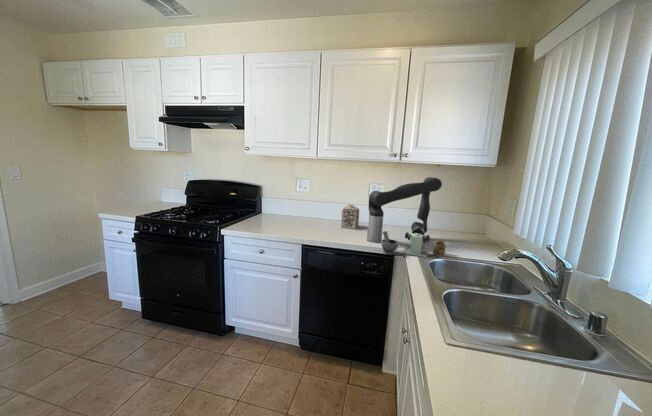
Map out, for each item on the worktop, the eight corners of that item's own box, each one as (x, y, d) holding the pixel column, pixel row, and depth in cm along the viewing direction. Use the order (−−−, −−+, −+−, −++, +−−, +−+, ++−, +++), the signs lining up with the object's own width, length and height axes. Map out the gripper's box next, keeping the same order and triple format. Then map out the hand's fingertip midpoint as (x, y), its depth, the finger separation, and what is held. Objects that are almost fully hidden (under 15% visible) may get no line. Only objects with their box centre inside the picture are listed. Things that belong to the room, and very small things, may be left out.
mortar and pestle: (400, 254, 157) (402, 234, 155) (387, 256, 153) (389, 236, 151) (388, 248, 167) (389, 229, 165) (375, 250, 163) (377, 230, 161)
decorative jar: (340, 227, 213) (341, 205, 209) (344, 224, 224) (345, 203, 220) (355, 229, 209) (357, 206, 206) (358, 226, 220) (360, 204, 217)
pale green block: (409, 252, 160) (411, 234, 158) (410, 249, 165) (412, 231, 163) (420, 254, 158) (422, 235, 156) (420, 250, 163) (422, 233, 161)
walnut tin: (433, 254, 159) (434, 241, 157) (433, 251, 164) (434, 238, 163) (444, 256, 157) (446, 243, 155) (444, 253, 162) (445, 240, 161)
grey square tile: (403, 254, 158) (403, 253, 158) (405, 247, 170) (405, 246, 169) (426, 258, 153) (426, 257, 153) (427, 251, 165) (427, 250, 165)
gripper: (407, 226, 178) (404, 232, 163) (430, 229, 173) (430, 235, 158) (406, 237, 179) (403, 244, 164) (429, 240, 174) (428, 247, 159)
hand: (416, 239), depth 161 cm, fingers open, 8 cm apart
